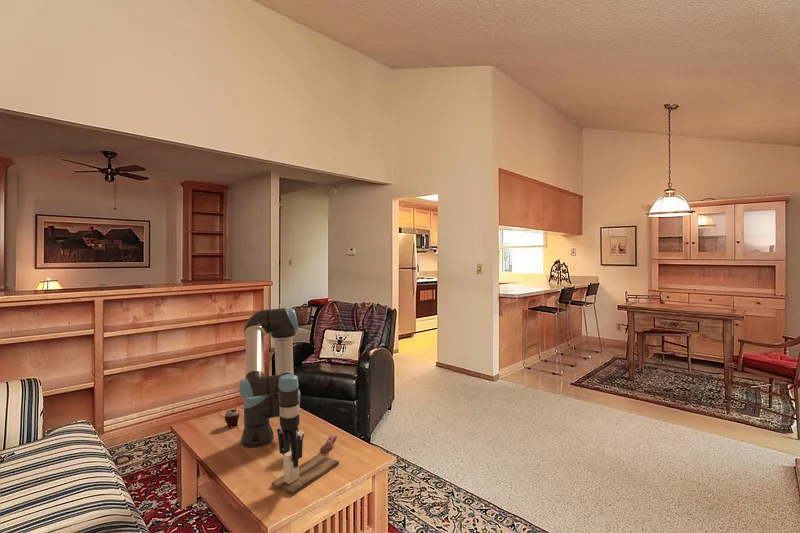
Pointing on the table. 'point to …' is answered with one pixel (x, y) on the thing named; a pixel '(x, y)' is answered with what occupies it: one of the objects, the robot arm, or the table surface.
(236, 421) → the mate gourd
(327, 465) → the board
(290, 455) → the fader knob
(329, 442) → the video game controller
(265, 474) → the table surface
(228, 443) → the table surface
